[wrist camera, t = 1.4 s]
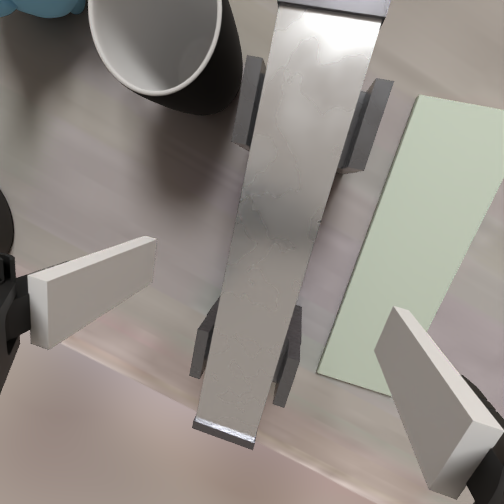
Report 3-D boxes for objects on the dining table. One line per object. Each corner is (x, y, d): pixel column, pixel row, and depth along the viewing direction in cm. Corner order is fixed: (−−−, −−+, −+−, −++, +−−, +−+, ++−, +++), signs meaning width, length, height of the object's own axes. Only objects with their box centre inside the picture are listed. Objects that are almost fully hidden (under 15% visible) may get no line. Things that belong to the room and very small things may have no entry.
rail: (262, 398, 26) (252, 449, 21) (212, 381, 26) (192, 427, 21) (366, 50, 17) (392, -5, 12) (287, 36, 17) (281, -20, 12)
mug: (272, 52, 24) (250, -35, 14) (226, 143, 27) (183, 123, 17) (162, -15, 24) (68, -145, 14) (128, 83, 27) (31, 29, 17)
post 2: (255, 154, 26) (230, 141, 17) (266, 100, 25) (245, 54, 16) (343, 174, 25) (365, 171, 16) (360, 118, 24) (395, 81, 15)
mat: (317, 369, 32) (317, 372, 31) (416, 96, 23) (419, 94, 22) (392, 393, 31) (394, 397, 30) (528, 117, 22) (534, 115, 21)
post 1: (220, 321, 32) (188, 375, 23) (227, 285, 31) (196, 328, 22) (290, 342, 31) (285, 408, 22) (301, 306, 30) (300, 361, 21)
